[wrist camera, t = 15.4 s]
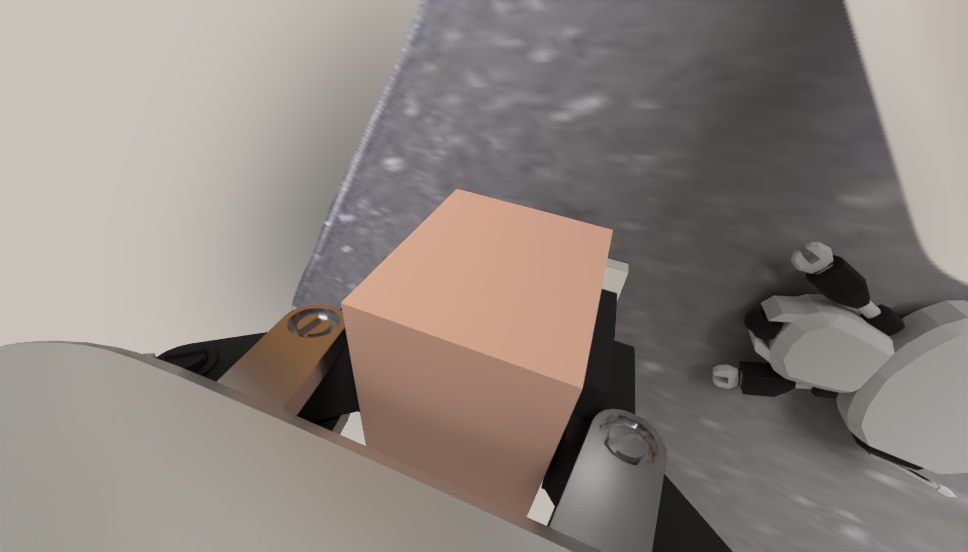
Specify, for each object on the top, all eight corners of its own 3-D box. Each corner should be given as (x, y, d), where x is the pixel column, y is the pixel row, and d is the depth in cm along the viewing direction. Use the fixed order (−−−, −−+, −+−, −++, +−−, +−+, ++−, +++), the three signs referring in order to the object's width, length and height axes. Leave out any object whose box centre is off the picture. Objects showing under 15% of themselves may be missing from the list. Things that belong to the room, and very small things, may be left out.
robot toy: (697, 360, 30) (927, 452, 26) (701, 400, 26) (971, 514, 22) (792, 214, 24) (1113, 307, 20) (816, 239, 20) (1216, 359, 16)
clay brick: (456, 188, 10) (340, 302, 6) (612, 229, 9) (582, 388, 5) (448, 324, 13) (367, 453, 9) (563, 364, 12) (523, 522, 9)
